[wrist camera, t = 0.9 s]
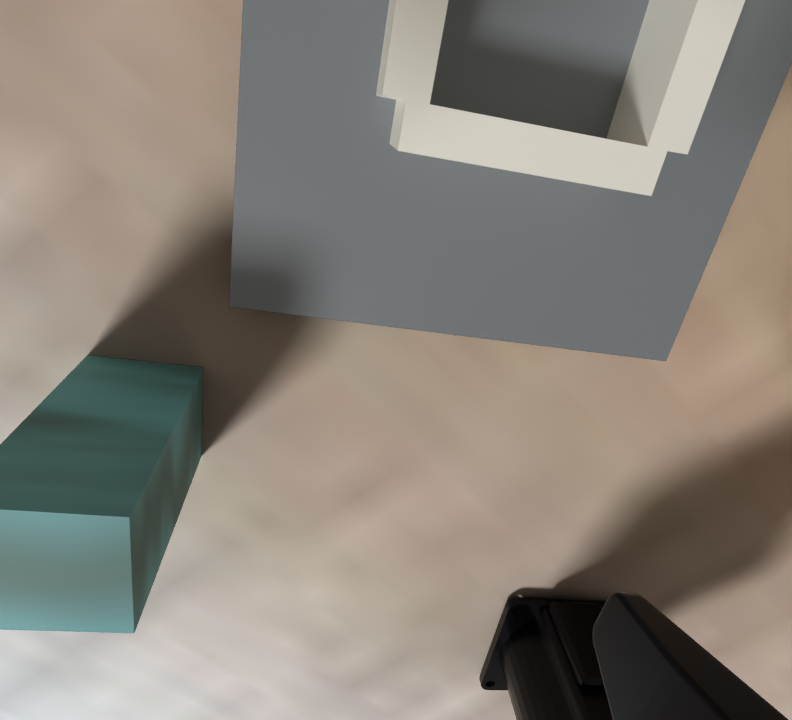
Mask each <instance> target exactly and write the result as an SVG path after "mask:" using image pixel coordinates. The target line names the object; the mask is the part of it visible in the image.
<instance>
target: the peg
mask: <svg viewBox="0 0 792 720" xmlns="http://www.w3.org/2000/svg"><path fill="white" fill-rule="evenodd" d="M203 372H204V367H194V366H185V365H175V364H166V363H157V362H147V361H138V360H128V359H119V358H109V357H100V356H90V355H87V356H86V357H85V358H84V359H83V360H82V361H81V362H80V364H79V365H78V366H77V367H76V368H75V369H74V370H73V371H72V372H71V373H70V374H69V375H68V376H67V377H66V378H65V379H64V380H63V381H62V382H61V383H60V384H59V385H58V386H57V387H56V388H55V389H54V390H53V391H52V392H51V393H50V394H49V395H48V396H47V397H46V398H45V399H44V400H43V401H42V402H41V403H40V405H39V406H38V407H37V408H36V409H35V410H34V411H33V412H32V413H31V414H30V415H29V416H28V417H27V418H26V419H25V420H24V421H23V422H22V423H21V424H20V425H19V426H18V427H17V428H16V429H15V430H14V431H13V432H12V433H11V434H10V435H9V436H8V437H7V438H6V439H5V440H4V441H3V442H2V443H1V445H0V629H4V630H40V631H75V632H110V633H134V632H135V630H136V627H137V624H138V622H139V619H140V616H141V614H142V611H143V609H144V606H145V603H146V601H147V598H148V595H149V593H150V590H151V587H152V585H153V582H154V580H155V577H156V574H157V572H158V569H159V566H160V564H161V561H162V558H163V556H164V553H165V551H166V548H167V545H168V543H169V540H170V537H171V535H172V532H173V529H174V527H175V524H176V522H177V519H178V516H179V514H180V511H181V508H182V506H183V503H184V500H185V498H186V495H187V493H188V490H189V487H190V485H191V482H192V479H193V477H194V474H195V471H196V469H197V466H198V464H199V461H200V458H201V446H202V409H203Z"/></svg>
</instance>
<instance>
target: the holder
mask: <svg viewBox="0 0 792 720" xmlns="http://www.w3.org/2000/svg"><path fill="white" fill-rule="evenodd" d="M791 64H792V0H243V14H242V35H241V57H240V79H239V100H238V122H237V143H236V165H235V187H234V208H233V230H232V251H231V273H230V295H229V307H235V308H243V309H251V310H259V311H267V312H275V313H283V314H291V315H299V316H307V317H315V318H323V319H331V320H339V321H347V322H355V323H363V324H371V325H379V326H387V327H395V328H403V329H411V330H419V331H427V332H435V333H443V334H451V335H459V336H467V337H475V338H483V339H491V340H499V341H507V342H515V343H523V344H531V345H539V346H547V347H555V348H563V349H571V350H579V351H587V352H595V353H603V354H611V355H619V356H627V357H635V358H643V359H651V360H659V361H666V360H667V357H668V355H669V353H670V350H671V348H672V346H673V343H674V341H675V338H676V336H677V334H678V331H679V329H680V327H681V324H682V322H683V319H684V317H685V315H686V312H687V310H688V308H689V305H690V303H691V301H692V298H693V296H694V293H695V291H696V289H697V286H698V284H699V282H700V279H701V277H702V274H703V272H704V270H705V267H706V265H707V263H708V260H709V258H710V256H711V253H712V251H713V248H714V246H715V244H716V241H717V239H718V237H719V234H720V232H721V229H722V227H723V225H724V222H725V220H726V218H727V215H728V213H729V211H730V208H731V206H732V203H733V201H734V199H735V196H736V194H737V192H738V189H739V187H740V184H741V182H742V180H743V177H744V175H745V173H746V170H747V168H748V165H749V163H750V161H751V158H752V156H753V154H754V151H755V149H756V147H757V144H758V142H759V139H760V137H761V135H762V132H763V130H764V128H765V125H766V123H767V120H768V118H769V116H770V113H771V111H772V109H773V106H774V104H775V102H776V99H777V97H778V94H779V92H780V90H781V87H782V85H783V83H784V80H785V78H786V75H787V73H788V71H789V68H790V66H791Z"/></svg>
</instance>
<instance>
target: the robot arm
mask: <svg viewBox="0 0 792 720" xmlns="http://www.w3.org/2000/svg"><path fill="white" fill-rule="evenodd" d="M480 683H481V686H482V688H483V689H485V690H508V691H509V695H510V698H511V701H512V705H513V708H514V712H515V715H516V719H517V720H788V719H787V718H786V717H785V716H783V715H782V714H781V713H780V712H779V711H778V710H776V709H775V708H774V707H773V706H772V705H770V704H769V703H768V702H767V701H766V700H764V699H763V698H762V697H761V696H760V695H759V694H757V693H756V692H755V691H754V690H753V689H751V688H750V687H749V686H748V685H747V684H745V683H744V682H743V681H742V680H741V679H740V678H738V677H737V676H736V675H735V674H734V673H732V672H731V671H730V670H729V669H728V668H727V667H725V666H724V665H723V664H722V663H721V662H719V661H718V660H717V659H716V658H715V657H713V656H712V655H711V654H710V653H709V652H708V651H706V650H705V649H704V648H703V647H702V646H700V645H699V644H698V643H697V642H696V641H694V640H693V639H692V638H691V637H690V636H689V635H687V634H686V633H685V632H684V631H683V630H681V629H680V628H679V627H678V626H677V625H676V624H674V623H673V622H672V621H671V620H670V619H668V618H667V617H666V616H665V615H664V614H662V613H661V612H660V611H659V610H658V609H657V608H655V607H654V606H653V605H652V604H651V603H649V602H648V601H647V600H646V599H645V598H643V597H642V596H641V595H639V594H636V593H628V592H614V593H612V594H611V595H610V596H609V597H608V599H607V601H588V600H565V599H543V598H520V597H517V598H512V599H510V600H509V601H507V603H506V605H505V607H504V610H503V613H502V616H501V619H500V621H499V624H498V627H497V630H496V632H495V635H494V638H493V641H492V644H491V646H490V649H489V652H488V655H487V658H486V660H485V663H484V666H483V669H482V671H481V674H480Z"/></svg>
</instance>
